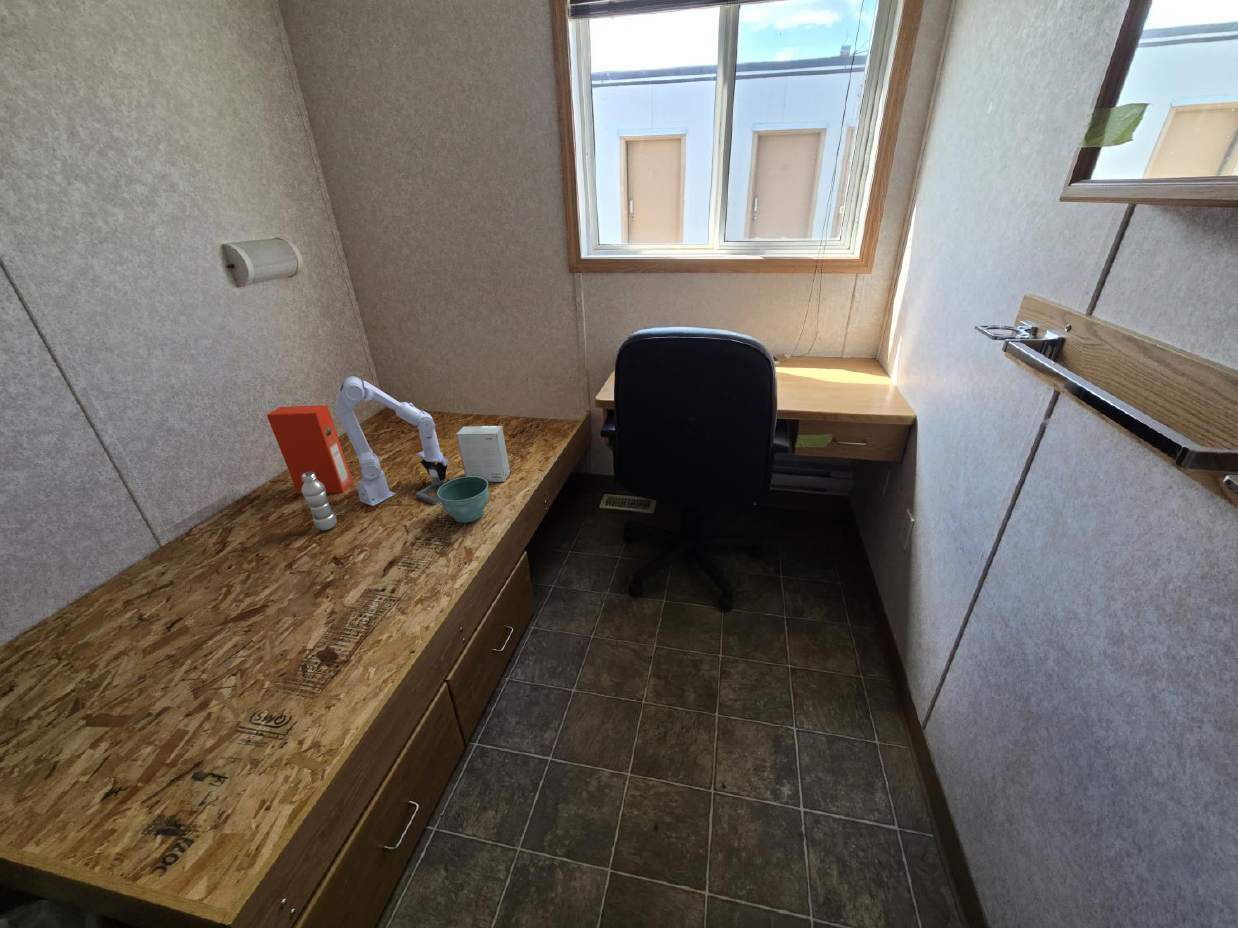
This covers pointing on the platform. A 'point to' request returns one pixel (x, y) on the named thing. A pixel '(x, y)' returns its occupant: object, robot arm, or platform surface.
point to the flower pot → (464, 498)
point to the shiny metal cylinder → (434, 475)
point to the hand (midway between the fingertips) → (438, 477)
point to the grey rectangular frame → (424, 492)
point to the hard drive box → (484, 452)
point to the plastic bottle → (318, 502)
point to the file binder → (311, 446)
